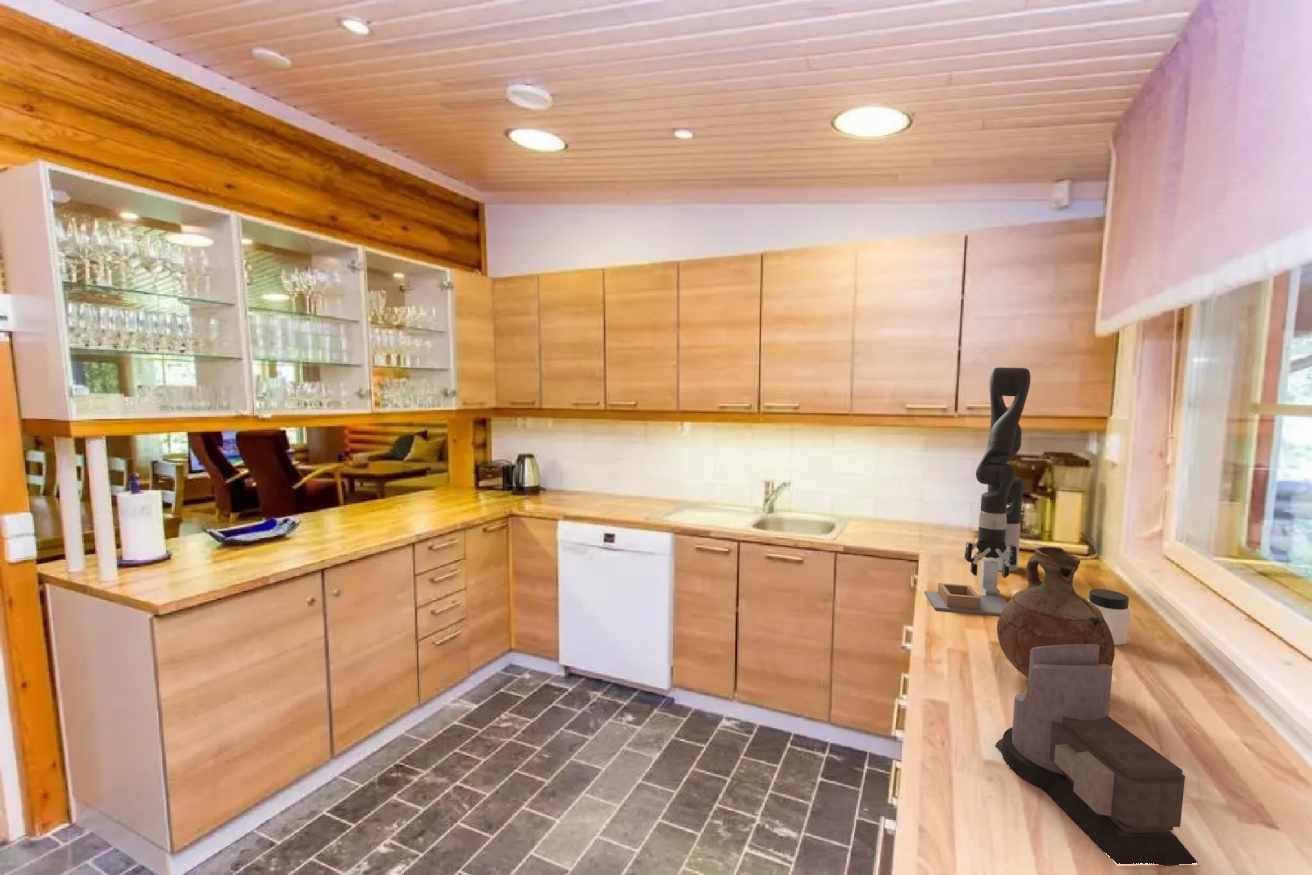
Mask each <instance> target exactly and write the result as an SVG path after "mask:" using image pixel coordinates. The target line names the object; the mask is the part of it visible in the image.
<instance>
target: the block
mask: <svg viewBox="0 0 1312 875" xmlns="http://www.w3.org/2000/svg"><path fill="white" fill-rule="evenodd" d="M980 561H981V562H980V576H979V580H980V581H979V591H980V592H981V593H982V594H983V595H984V596H996V597H1001V591H1000V590H999V589H998V577H999V575H998V574H999V573H998V572H999V570H998V563H997V562H996V561H994V560H988V559H981V560H980Z"/></svg>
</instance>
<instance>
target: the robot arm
mask: <svg viewBox="0 0 1312 875" xmlns="http://www.w3.org/2000/svg"><path fill="white" fill-rule="evenodd" d="M1030 385H1031V373H1030V370H1029V369H1028V368H1025V367H995V368H993V369H992V370H991V373H990V376H989V396H990V398H989V399H990V426H989V436H988V442H987V445H986V446H987V447H986V450H985V452H984V455H983V457H982V458H981V461H980V462H979V464H978V466H977V467H976V471H975V479H976V480H977V481H978V483H980V484H982V485H987V492H984V493H982V494H981V498H980V510H979V516H978V531H977V542H975V543H974V542H970V541H967V542H966V544H965V551H964V560H966V561H967V562H968V563H970V573H971V574H972V575H973V576H974V577H977V575H978V563H979V561H981V560H983V558H987V560H994V561H996V562H997V563H998V571H1000V572H1001V577H1002V578H1003V579H1007V577H1009V576H1010V572H1011V573H1012V572H1017V571H1018V569H1019V567H1018V566H1019V555H1020V553H1019V552H1020V541H1021V540H1020V537H1021V522H1022V506H1023V498H1024V490H1025V488H1024V487H1025V483H1024V480H1023V478H1022V477H1017V476H1016V470H1015V467H1014V466H1013V465H1011V464H1010V463H1009V462H1010V461H1011V460H1012V459H1013V458H1014V457H1015V456H1016V455H1017V454H1018V452H1019V451H1020V449H1021V446H1022V428H1021V426H1020V420H1021V417H1022V414H1023V412H1024V407H1025V404H1026V401H1027V398H1028V395H1029V390H1030V387H1031V386H1030ZM1004 397H1014V399H1013V401H1012V403H1011V405H1010V406H1009V408H1008V407H1007V406H1006V403H1005V401H1004ZM1010 503H1011V504H1010ZM1008 504H1010V506H1007V505H1008ZM975 548H976V549H977V551H976V552H975V554H974V556H972V553H973V550H974V549H975Z"/></svg>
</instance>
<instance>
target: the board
mask: <svg viewBox="0 0 1312 875" xmlns="http://www.w3.org/2000/svg"><path fill="white" fill-rule="evenodd" d="M924 595H925V596H926V599H927V600H928V601H929V603H930V605H931V606H932V608H933V609H934V610H935V611H942V612H953V613H966V614H978V615H989V616H999V617H1000V615H1001V613H1002V611H1003V609H1004V608H1005V606H1006V605H1007V603H1008V602H1007V601H1006V600H1005V599H1004V597H1003V596H1000V597H996V596H985V595H984V594H983V595H981V594H978V593H977V592H976V591H975V589H973V587H972V586H971V585H969V584H958V583H957V584H955V583H944V582H938V586H937V591H931V590H924Z"/></svg>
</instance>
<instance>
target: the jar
mask: <svg viewBox="0 0 1312 875" xmlns="http://www.w3.org/2000/svg"><path fill="white" fill-rule="evenodd" d="M1086 600H1088V601H1089V602H1091V603H1092V604H1093V605H1095V606H1096V607H1097V608H1098V609H1099V610H1100V611H1101V613H1102V616H1103V618H1104V620H1105V622H1106V623H1107V625H1108V627H1109V629H1110V631H1111V634H1112V637H1113V640H1114V646H1121V645H1127V644H1128V637H1129V625H1130V614H1131V611H1130V610H1131V609H1130V608H1129V602H1130V598H1129V596H1128V595H1126V594H1125V593H1122V592H1120V591H1115V590H1111V589H1105V588H1104V589H1103V588H1092V589H1090V590H1089V592H1088V598H1086Z"/></svg>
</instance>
